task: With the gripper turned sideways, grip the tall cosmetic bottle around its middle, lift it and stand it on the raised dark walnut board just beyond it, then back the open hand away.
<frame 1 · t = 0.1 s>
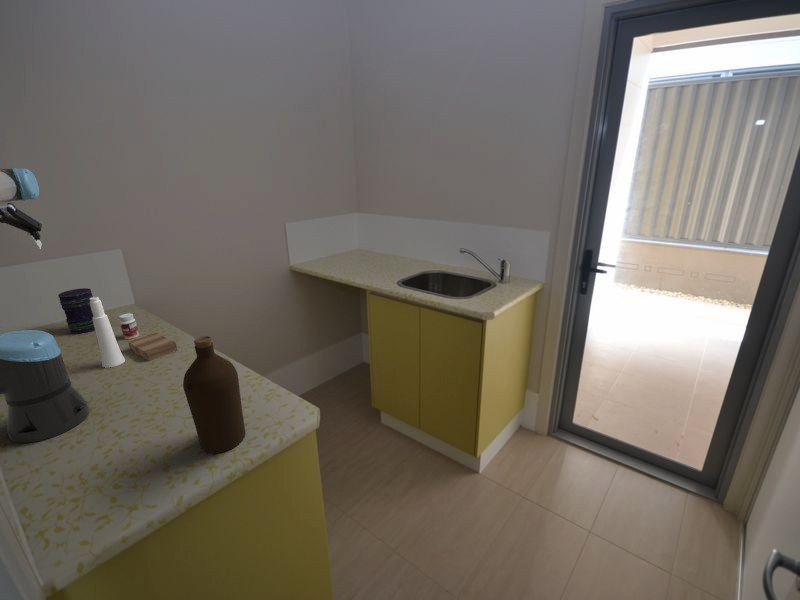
hand: (11, 249, 120), 36 cm above the counter, tool tilted 35°, fingers open, 13 cm apart
olive oil: (224, 439, 89), on the counter
walnut board: (153, 350, 133), on the counter
cosmetic bottle: (114, 363, 125), on the counter
pill bottle: (131, 337, 144), on the counter
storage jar: (86, 329, 151), on the counter
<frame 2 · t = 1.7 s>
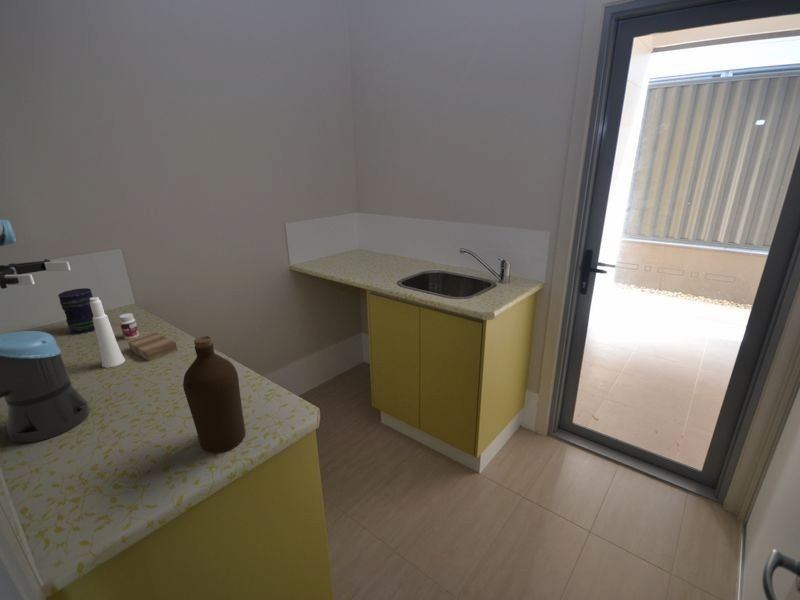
hand: (51, 272, 114), 30 cm above the counter, tool horizontal, fingers open, 13 cm apart
nothing on the counter moved.
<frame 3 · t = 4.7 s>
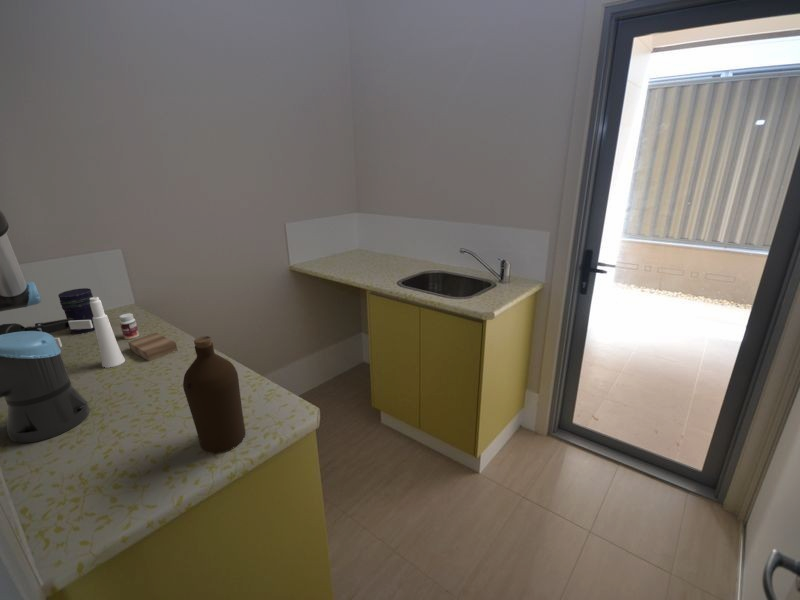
hand: (76, 332, 121), 11 cm above the counter, tool horizontal, fingers open, 13 cm apart
nothing on the counter moved.
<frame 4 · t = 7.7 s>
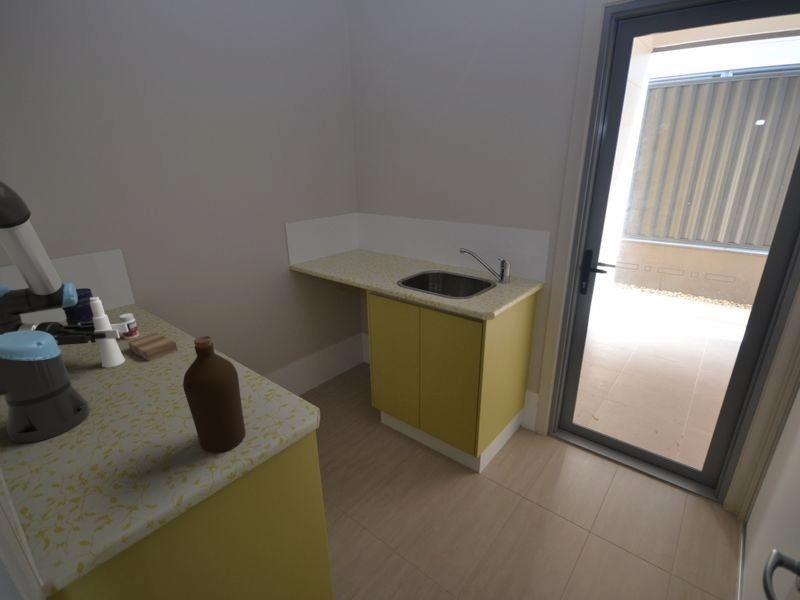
hand: (122, 330, 121), 11 cm above the counter, tool horizontal, fingers closed on cosmetic bottle, 4 cm apart
cosmetic bottle: (114, 363, 125), on the counter, touching gripper
everything else where it was.
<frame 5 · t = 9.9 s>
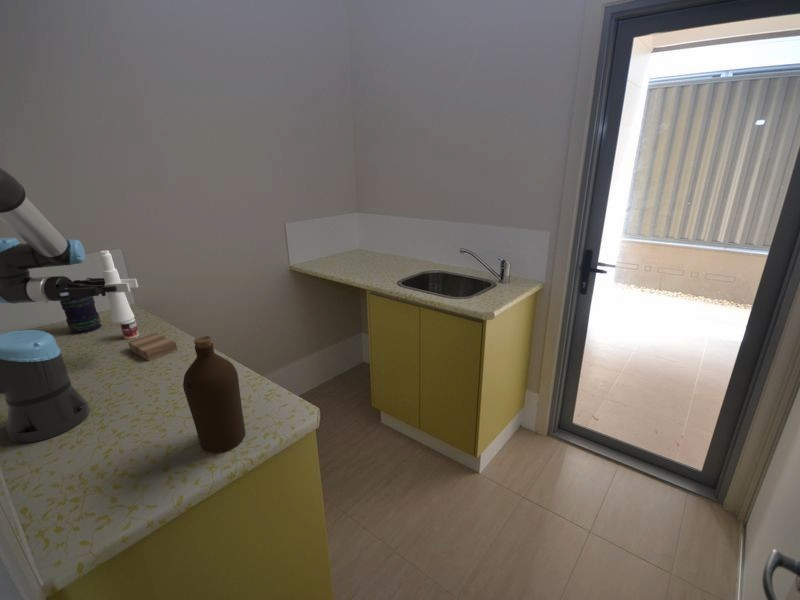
hand: (132, 285, 122), 24 cm above the counter, tool horizontal, fingers closed on cosmetic bottle, 4 cm apart
cosmetic bottle: (123, 319, 125), point 13 cm above the counter, touching gripper
everything else where it was.
when the fingers open (15 cm above the counter, at t = 12.6 s): cosmetic bottle drops 1 cm, resting on walnut board.
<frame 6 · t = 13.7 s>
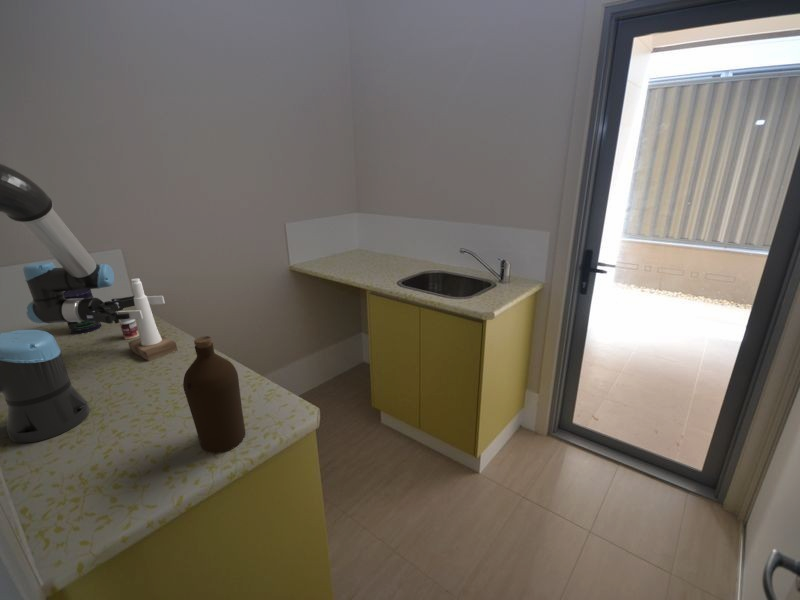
hand: (153, 306, 128), 16 cm above the counter, tool horizontal, fingers open, 13 cm apart
cosmetic bottle: (151, 342, 132), point 3 cm above the counter, touching walnut board
everything else where it was.
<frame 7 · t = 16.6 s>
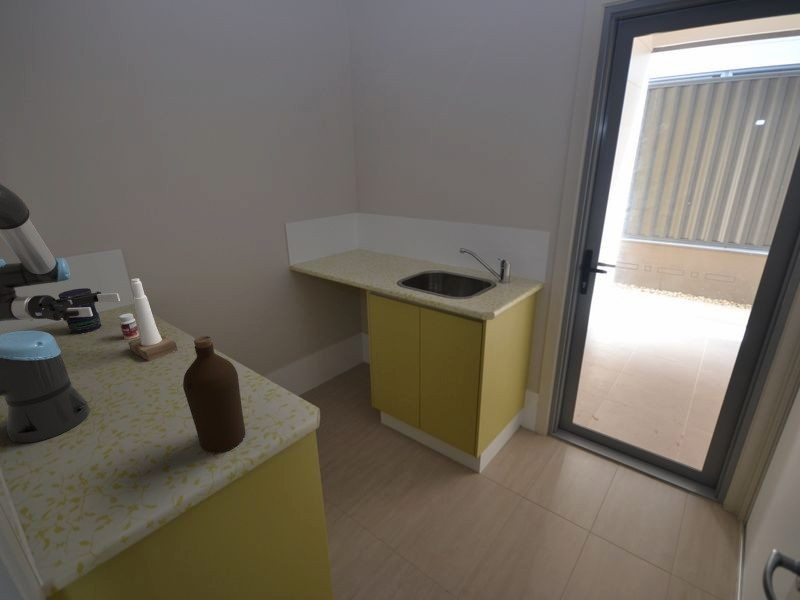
hand: (105, 304, 126), 17 cm above the counter, tool horizontal, fingers open, 13 cm apart
nothing on the counter moved.
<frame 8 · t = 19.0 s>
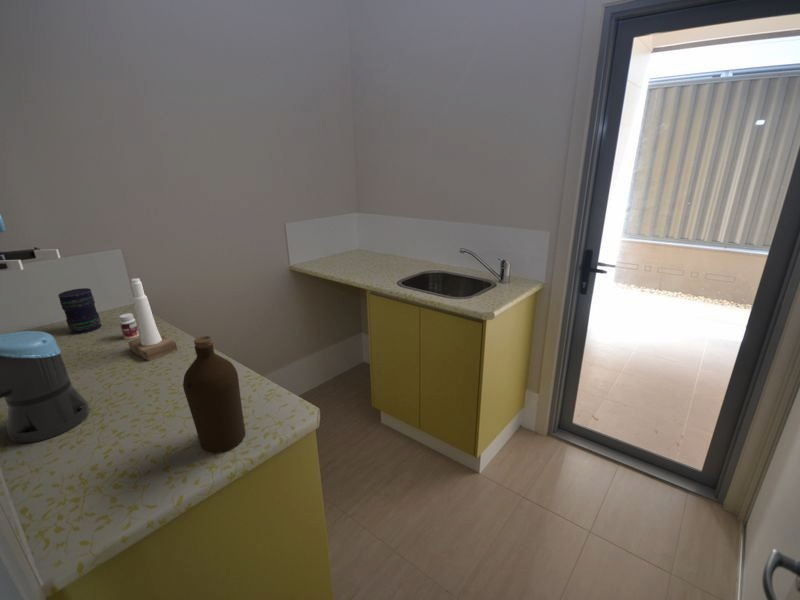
hand: (40, 259, 114), 34 cm above the counter, tool horizontal, fingers open, 13 cm apart
nothing on the counter moved.
at the end: cosmetic bottle inside the target area on the walnut board (0.1 cm from its centre), point 2.8 cm above the walnut board's base; cosmetic bottle tilted 0°; the gripper is holding nothing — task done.
